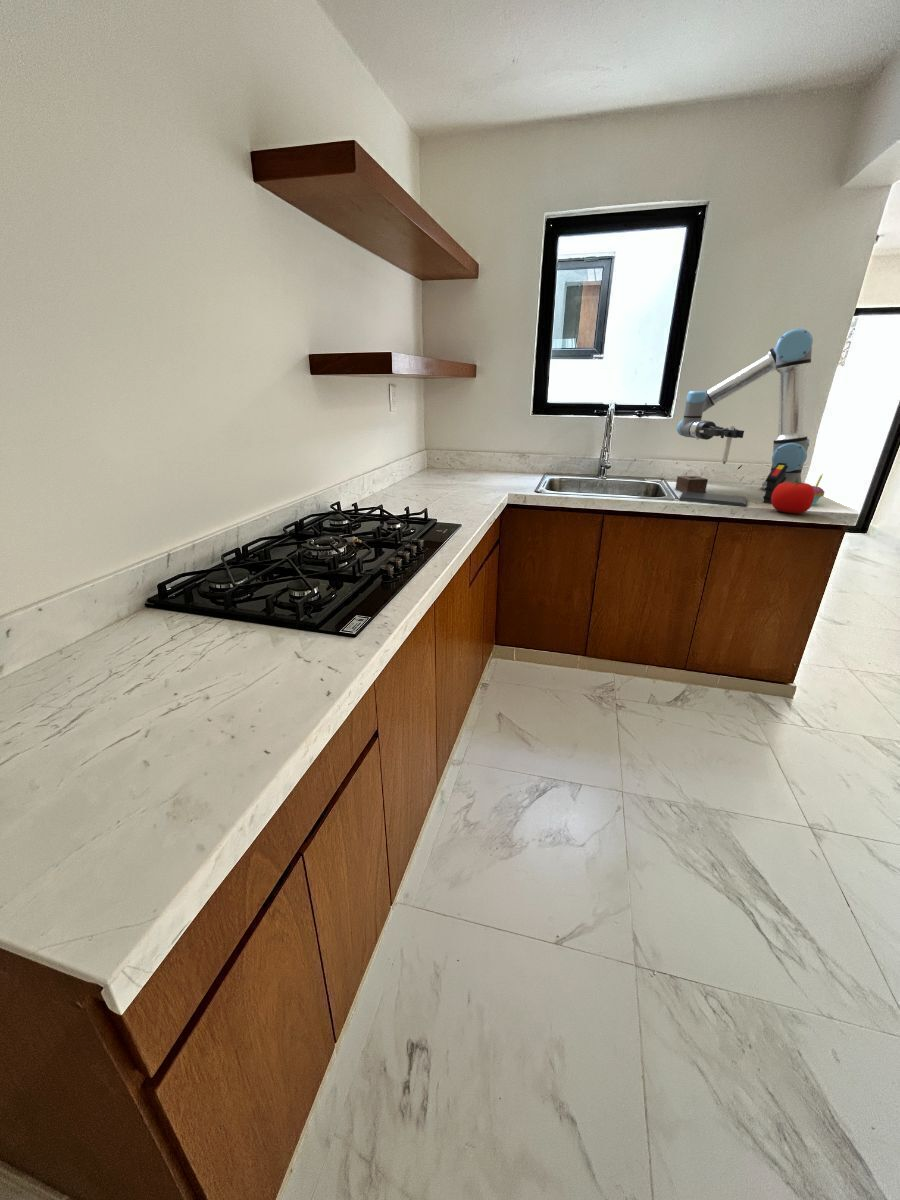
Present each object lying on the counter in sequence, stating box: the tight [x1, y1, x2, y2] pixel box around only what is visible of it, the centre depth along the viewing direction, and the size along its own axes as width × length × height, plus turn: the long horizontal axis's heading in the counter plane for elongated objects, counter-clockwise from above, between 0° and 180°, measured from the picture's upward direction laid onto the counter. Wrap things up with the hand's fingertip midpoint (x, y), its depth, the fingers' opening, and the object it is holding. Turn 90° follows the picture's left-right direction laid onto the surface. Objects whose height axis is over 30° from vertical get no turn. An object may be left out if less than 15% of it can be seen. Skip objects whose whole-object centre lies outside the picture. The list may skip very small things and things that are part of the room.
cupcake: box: [811, 473, 825, 506], centre depth 198 cm, size 9×8×12 cm
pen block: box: [674, 475, 708, 493], centre depth 223 cm, size 9×9×6 cm
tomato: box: [771, 481, 814, 514], centre depth 183 cm, size 13×14×12 cm
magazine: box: [762, 463, 788, 504], centre depth 202 cm, size 4×13×15 cm, turn 133°
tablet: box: [679, 491, 747, 507], centre depth 207 cm, size 24×17×1 cm
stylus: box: [721, 424, 735, 465], centre depth 203 cm, size 2×2×15 cm
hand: (739, 434), depth 196 cm, fingers closed on stylus, 2 cm apart
